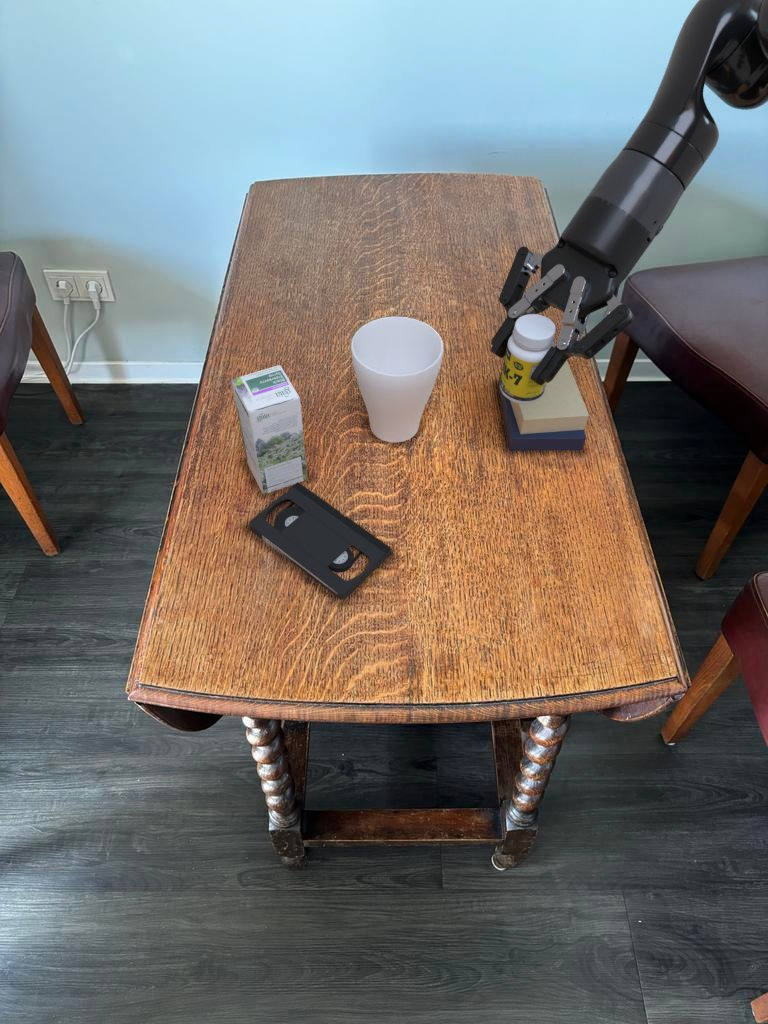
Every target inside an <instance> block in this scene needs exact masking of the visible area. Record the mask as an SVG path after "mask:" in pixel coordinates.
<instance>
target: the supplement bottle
mask: <svg viewBox="0 0 768 1024" xmlns="http://www.w3.org/2000/svg"><path fill="white" fill-rule="evenodd" d="M555 335H556V325H555V323H554V322H553V321H552V320H551V319H550V318H549V317H547V316H544V315H542V314H539V313H538V314H527V315H524V316H521V317H520V318H518V319H517V321H516V323H515V326H514V330H513V334H512V335H511V336H510V338H509V340H508V344H507V349H506V354H505V356H504V360H503V364H502V371H501V372H502V376H501V381H500V389H501V392H502V393H503V395H504V396H505V397H506V398H508V399H509V400H511V401H513V402H515V403H520V404H529V403H533V402H535V401H537V400H539V399H540V398H541V397H542V396H543V394H544V390H545V387H546V383H547V382H545V383H544V384H543V385H541V386H540V385H539V384H537V383H536V382H534V381H533V380H531V379H530V377H531V375H532V373H533V372H534V370H535V369H536V367H537V366H538V365H539V363H540V362H541V360H542V359H543V358H544V356H545V355H546V353H547V352H548V350H549V349H550V348H551V346H553V347H554V348H555V346H556V344H555V342H554V339H555Z"/></svg>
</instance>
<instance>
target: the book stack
mask: <svg viewBox="0 0 768 1024" xmlns="http://www.w3.org/2000/svg"><path fill="white" fill-rule="evenodd" d="M501 376H502V371H501V372H499V377H498V383H497V388H498V392H499V399H500V404H501V410H502V415H503V416H502V417H503V422H504V427H505V432H506V438H507V444H508V449H509V451H510V452H525V451H526V452H535V451H536V452H537V451H538V452H541V451H542V452H545V451H546V452H547V451H549V452H550V451H551V452H552V451H556V452H557V451H583V448H584V446H585V443H586V439H587V436H586V432H585V429H586V426H587V423H588V421H589V417H590V414H589V411H588V409H587V407H586V404H585V402H584V399H583V396H582V394H581V391H580V389H579V387H578V384H577V382H576V380H575V379H576V378H575V377H574V374H573V372H572V369H571V367H570V364H569V362H568V359H567V360H566V362H565V363H564V364H563V366H562V367H561V369H560V370H559V371H558V373H557V374H556V376H555V377H554V378H553V380H552V381H550V382H549V383H546V387H545V390H544V394H543V396H542V397H541V398H540V399H539V400H537V401H535V402H533V403H529V404H520V403H515V402H513V401H511V400H509V399H508V398H506V397H505V396H504V395H503V393H502V392H501V389H500V381H501Z"/></svg>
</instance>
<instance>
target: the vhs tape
mask: <svg viewBox="0 0 768 1024" xmlns="http://www.w3.org/2000/svg"><path fill="white" fill-rule="evenodd" d="M286 500H290V501H291V502H290V503H289V504H288V505H286V506H285V507H284V508H283V509H282V510H281V511H279V512H278V513H277V514H276V516H275V517H274V519H273V525H272V524H271V523H269V522H268V521H267V520H266V519H265V518H266V516H267V515H268V514H270V513H271V512H272V511H273V510H275V508H277V507H278V506H279V505H280V504H282V503H283V502H284V501H286ZM249 528H250V531H251V532H252V533H253V534H254V535H256V536H257V537H258V538H260V539H261V540H262V541H263V542H265V543H266V544H267V545H269V546H270V547H272V548H273V549H274V550H275V551H277V552H278V553H279V554H281V556H283V557H284V558H285V559H287V560H288V561H289V562H291V563H292V564H294V565H295V567H297V568H299V569H300V570H301V571H303V573H305V574H306V575H308V576H309V577H310V578H311V579H313V580H314V581H315V582H317V583H318V584H319V585H321V587H323V588H325V589H326V590H327V591H329V593H331V594H332V595H333V596H335V597H336V598H337V599H339V600H341V601H343V600H346V599H347V598H348V597H349V596H350V595H351V594H352V593H353V592H354V591H355V590H356V589H357V588H358V587H359V586H360V585H361V584H362V583H363V582H364V581H365V580H366V579H368V578H369V577H370V575H372V574H373V573H374V572H375V571H376V570H377V569H378V568H379V567H380V566H381V565H382V564H383V563H384V562H385V561H386V560H387V559H389V557H391V555H392V547H390V546H389V545H387V544H386V543H384V542H383V541H382V540H380V538H378V537H376V536H375V535H373V534H372V533H371V532H369V531H368V530H366V529H365V528H364V527H362V526H360V525H359V524H358V523H357V522H355V521H354V520H352V519H351V518H349V517H348V516H347V515H344V514H343V513H341V511H339V510H338V509H336V508H335V507H334V506H332V505H331V504H329V503H328V502H327V501H325V500H324V499H322V498H321V497H320V496H318V495H317V494H316V493H314V492H312V491H311V490H310V489H308V488H307V487H306V486H304V485H303V484H301V482H299V483H298V482H297V483H296V484H293V485H291V487H290V488H289V489H288V490H287V492H284V493H283V494H282V495H280V496H279V497H278V498H277V499H276V500H274V501H273V502H272V503H270V504H269V505H268V506H267V507H266V508H265V509H263V510H262V511H261V512H260V513H258V514H257V515H255V516H254V517H253V518H252V519H251V520H250V521H249ZM351 546H353V547H354V548H356V549H357V550H358V553H357V554H356V555H355V557H354V553H353V551H352V549H351V548H350V547H351ZM362 554H364V555H365V556H367V557H368V558H369V562H368V564H367V566H366V567H365V569H364V570H363V571H362V572H360V573H359V574H358V575H356V576H355V577H353V578H350V579H348V580H346V579H344V578H342V577H341V576H340V575H338V574H337V573H342V574H343V573H345V572H348V571H349V570H350V569H352V568H353V565H354V564H355V563H356V561H357V560H358V559H359V557H360V556H361V555H362Z"/></svg>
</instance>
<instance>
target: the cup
mask: <svg viewBox="0 0 768 1024" xmlns="http://www.w3.org/2000/svg"><path fill="white" fill-rule="evenodd" d="M350 352H351V353H350V354H351V361H352V366H353V370H354V375H355V378H356V382H357V386H358V389H359V392H360V395H361V398H362V400H363V402H364V405H365V408H366V412H367V415H368V422H369V428H370V431H371V432H372V434H373V435H374V436H375V437H377V439H379V440H382V441H384V442H386V443H395V444H397V443H402V442H407V441H409V440H410V439H412V438H413V437H414V436H416V434H417V433H418V431H419V427H420V423H421V418H422V416H423V413H424V410H425V407H426V405H427V403H428V401H429V399H430V397H431V395H432V392H433V390H434V387H435V384H436V381H437V378H438V376H439V374H440V370H441V366H442V362H443V356H444V342H443V339H442V336H441V335H440V334H439V333H438V332H437V330H436V329H435V328H434V327H432V326H430V325H429V324H427V323H426V322H424V321H421V320H419V319H416V318H412V317H407V316H396V315H395V316H394V315H393V316H386V317H385V316H384V317H380V318H376V319H373V320H370V321H369V322H367V323H365V324H363V325H362V326H361V327H360V328H359V329H357V330H356V331H355V333H354V334H353V337H352V338H351V343H350Z"/></svg>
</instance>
